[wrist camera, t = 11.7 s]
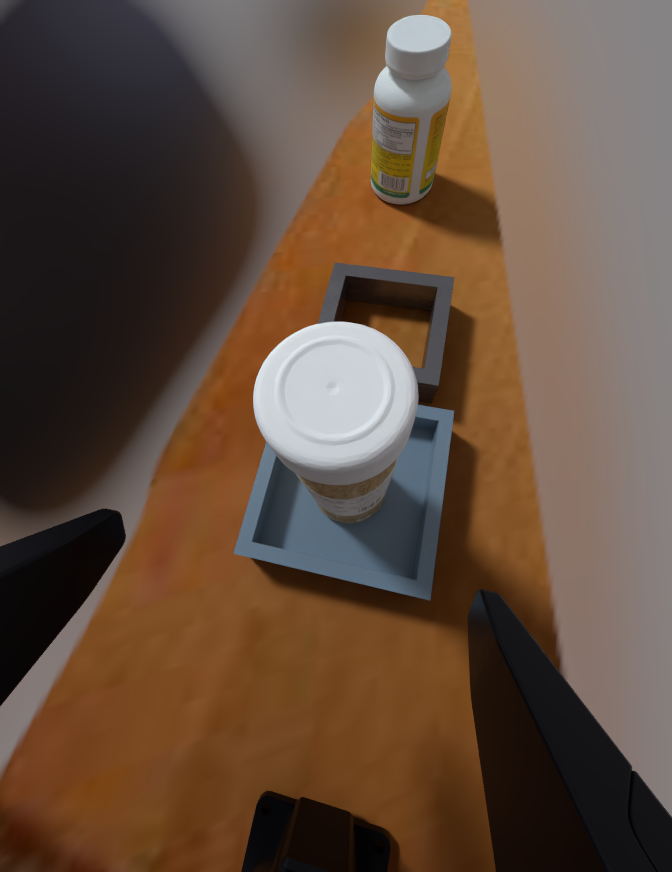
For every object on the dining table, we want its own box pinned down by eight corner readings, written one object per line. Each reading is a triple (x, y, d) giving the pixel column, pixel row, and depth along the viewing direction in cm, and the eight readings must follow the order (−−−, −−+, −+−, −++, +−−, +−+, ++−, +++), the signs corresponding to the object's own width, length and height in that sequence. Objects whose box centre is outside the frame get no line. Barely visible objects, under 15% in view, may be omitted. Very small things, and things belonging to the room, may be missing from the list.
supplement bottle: (382, 213, 31) (391, 67, 22) (362, 172, 32) (363, 20, 23) (442, 197, 31) (476, 44, 22) (420, 156, 33) (443, 0, 24)
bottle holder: (431, 402, 25) (438, 385, 22) (311, 382, 26) (306, 364, 23) (446, 302, 27) (454, 277, 25) (337, 287, 28) (334, 262, 26)
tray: (422, 596, 21) (430, 600, 18) (247, 554, 22) (233, 553, 20) (445, 425, 24) (454, 410, 22) (291, 398, 25) (284, 381, 23)
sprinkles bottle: (361, 439, 23) (363, 289, 11) (401, 500, 22) (457, 413, 9) (298, 474, 23) (221, 361, 10) (335, 540, 21) (297, 505, 9)
